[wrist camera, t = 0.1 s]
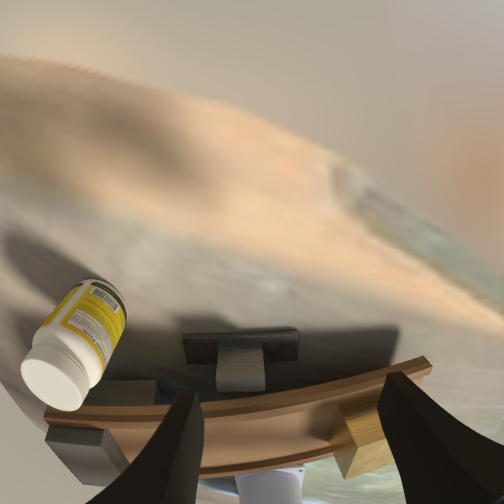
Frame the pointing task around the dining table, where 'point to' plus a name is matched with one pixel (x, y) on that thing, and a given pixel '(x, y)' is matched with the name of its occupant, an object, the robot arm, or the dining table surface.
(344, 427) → the block
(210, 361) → the stand
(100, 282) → the supplement bottle
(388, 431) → the robot arm
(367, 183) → the dining table surface
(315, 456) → the beam
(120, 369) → the dining table surface
